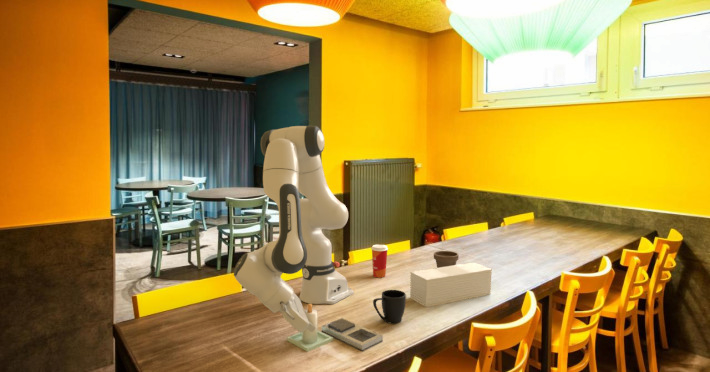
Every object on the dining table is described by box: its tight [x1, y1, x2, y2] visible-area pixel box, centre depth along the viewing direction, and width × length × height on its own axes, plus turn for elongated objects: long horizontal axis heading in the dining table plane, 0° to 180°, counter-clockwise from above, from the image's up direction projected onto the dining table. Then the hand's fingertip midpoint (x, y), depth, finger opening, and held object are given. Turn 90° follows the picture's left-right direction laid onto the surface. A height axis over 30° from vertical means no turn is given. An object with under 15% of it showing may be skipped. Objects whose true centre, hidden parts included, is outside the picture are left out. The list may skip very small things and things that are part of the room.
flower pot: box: [433, 250, 459, 268], centre depth 197 cm, size 12×11×10 cm
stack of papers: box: [409, 262, 493, 308], centre depth 170 cm, size 32×11×11 cm, turn 116°
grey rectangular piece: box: [321, 317, 384, 352], centre depth 133 cm, size 9×18×3 cm, turn 45°
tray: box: [286, 329, 334, 353], centre depth 130 cm, size 10×10×2 cm
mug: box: [372, 289, 407, 325], centre depth 145 cm, size 8×12×10 cm
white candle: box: [302, 303, 318, 344], centre depth 129 cm, size 5×5×11 cm
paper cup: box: [370, 244, 389, 279], centre depth 194 cm, size 8×8×14 cm
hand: (311, 325), depth 130 cm, fingers closed on white candle, 5 cm apart
